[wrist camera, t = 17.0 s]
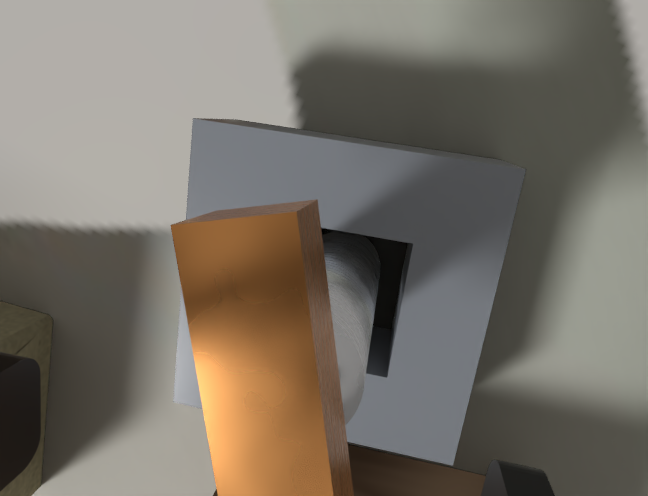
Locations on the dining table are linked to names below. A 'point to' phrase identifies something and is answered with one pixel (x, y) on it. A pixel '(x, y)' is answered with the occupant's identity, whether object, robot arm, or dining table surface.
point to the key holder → (388, 223)
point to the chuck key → (277, 343)
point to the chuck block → (406, 476)
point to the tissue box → (35, 342)
